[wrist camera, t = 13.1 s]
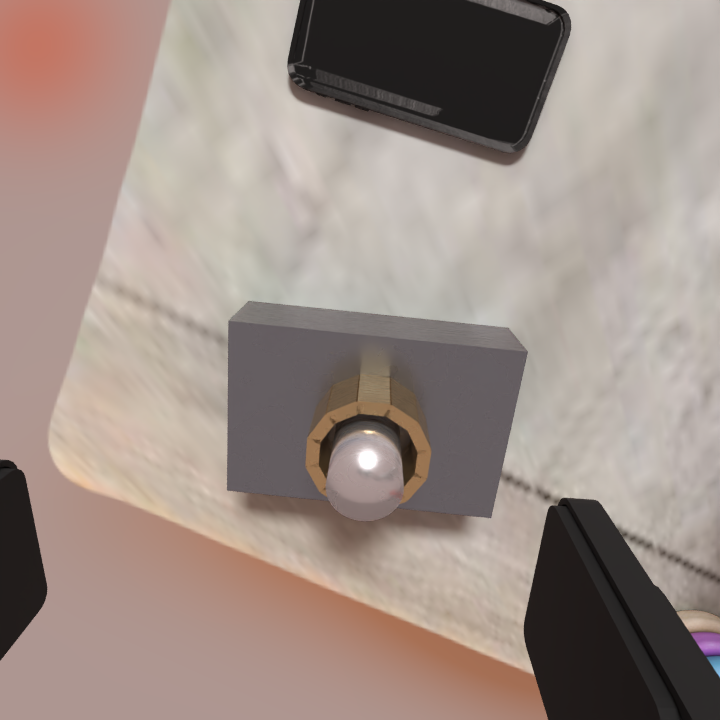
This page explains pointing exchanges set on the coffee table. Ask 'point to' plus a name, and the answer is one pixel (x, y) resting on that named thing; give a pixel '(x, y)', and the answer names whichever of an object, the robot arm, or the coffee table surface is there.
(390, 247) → the coffee table surface
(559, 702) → the robot arm
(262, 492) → the grey peg board
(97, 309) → the coffee table surface
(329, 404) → the bronze ring
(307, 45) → the phone
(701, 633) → the stacking toy
